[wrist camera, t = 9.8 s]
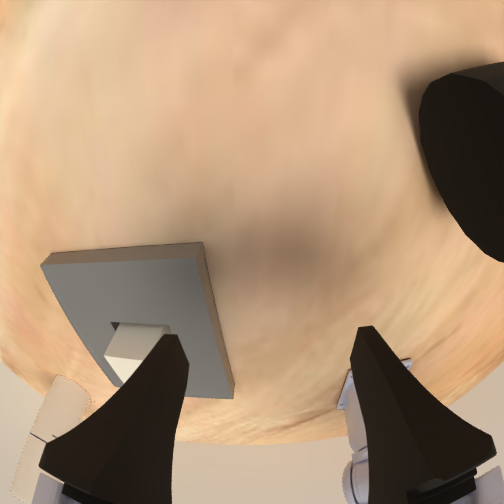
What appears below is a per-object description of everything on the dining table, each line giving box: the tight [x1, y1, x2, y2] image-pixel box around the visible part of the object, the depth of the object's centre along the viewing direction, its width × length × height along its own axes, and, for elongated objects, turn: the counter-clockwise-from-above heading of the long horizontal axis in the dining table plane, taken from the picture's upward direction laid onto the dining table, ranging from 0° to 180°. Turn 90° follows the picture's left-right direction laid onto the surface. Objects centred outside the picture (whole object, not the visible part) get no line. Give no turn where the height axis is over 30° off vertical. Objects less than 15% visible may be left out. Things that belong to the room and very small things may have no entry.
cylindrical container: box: [10, 375, 90, 504], centre depth 23 cm, size 7×7×25 cm
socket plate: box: [40, 242, 235, 399], centre depth 23 cm, size 18×15×2 cm
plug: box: [104, 323, 172, 383], centre depth 22 cm, size 6×4×6 cm
